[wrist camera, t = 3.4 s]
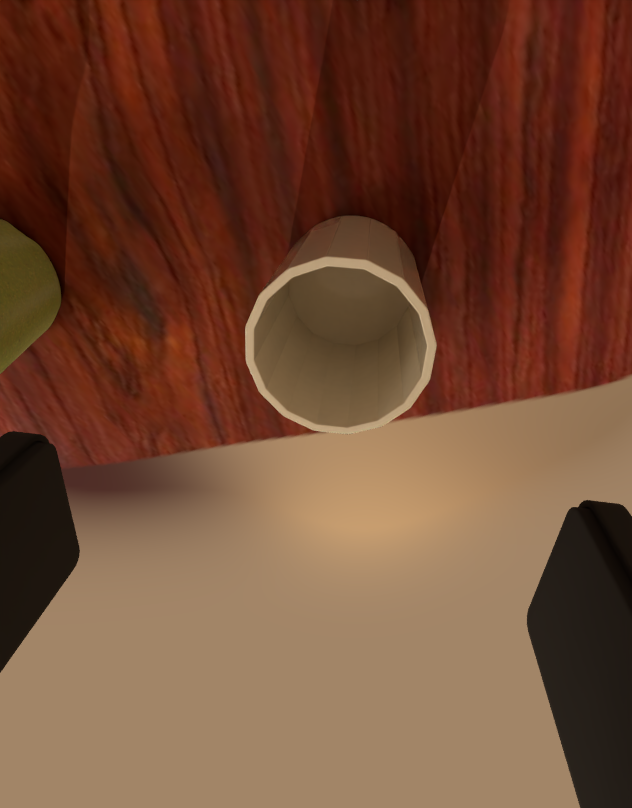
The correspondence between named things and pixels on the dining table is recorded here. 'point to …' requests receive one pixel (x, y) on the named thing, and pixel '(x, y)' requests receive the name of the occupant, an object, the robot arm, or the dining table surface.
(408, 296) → the paper cup
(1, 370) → the plant pot
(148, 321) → the dining table surface
